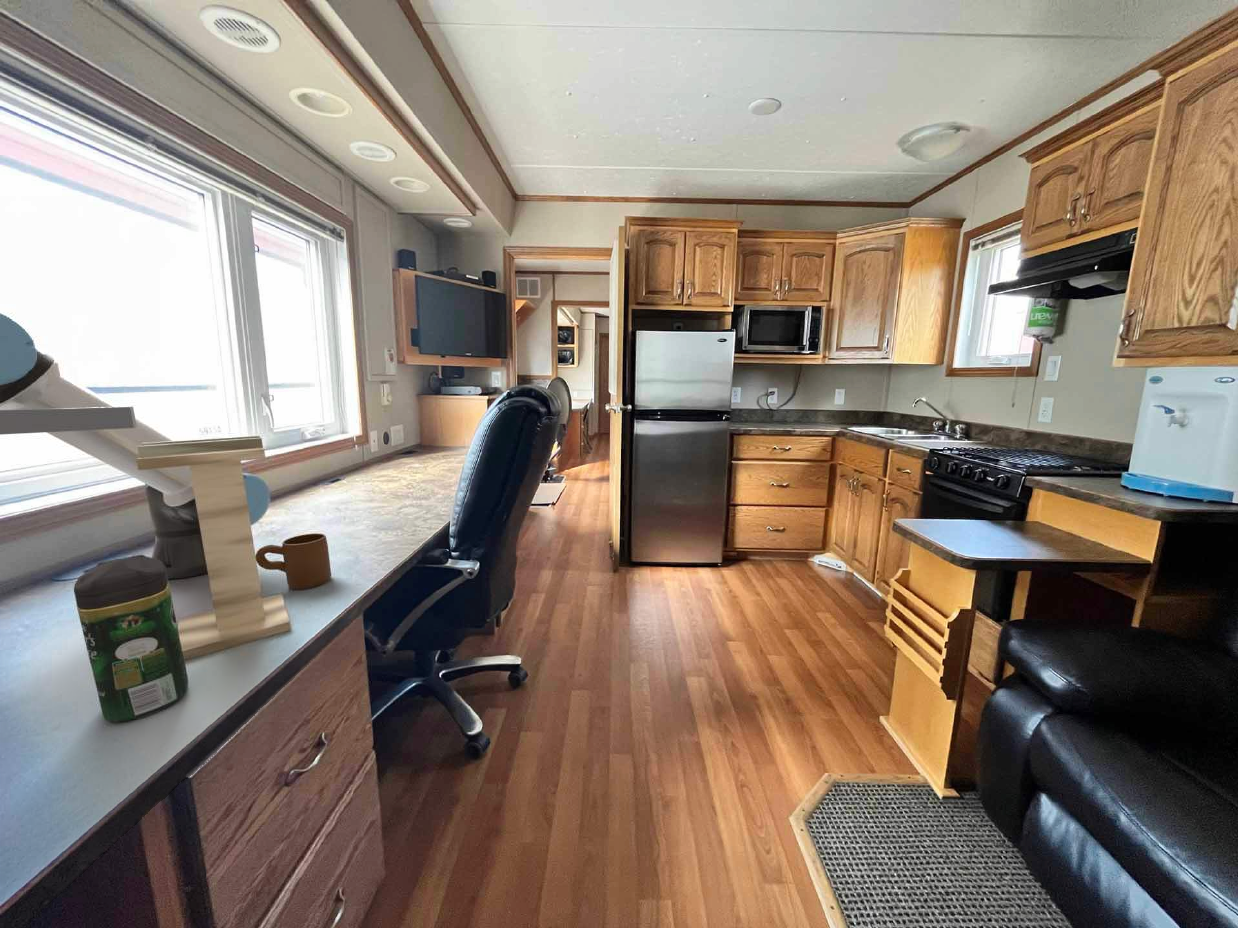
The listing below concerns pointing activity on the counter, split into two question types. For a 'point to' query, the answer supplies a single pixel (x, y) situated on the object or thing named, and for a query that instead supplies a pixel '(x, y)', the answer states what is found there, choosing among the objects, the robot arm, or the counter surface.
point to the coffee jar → (131, 637)
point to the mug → (300, 560)
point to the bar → (66, 419)
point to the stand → (222, 543)
